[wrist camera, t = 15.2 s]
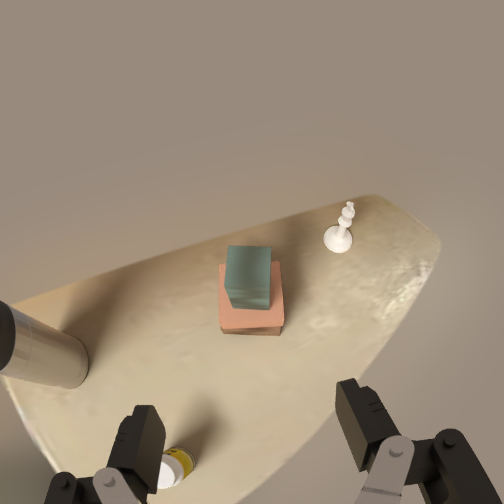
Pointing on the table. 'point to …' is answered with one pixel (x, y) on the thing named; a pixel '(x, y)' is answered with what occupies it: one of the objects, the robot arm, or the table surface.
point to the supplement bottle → (175, 467)
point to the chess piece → (340, 231)
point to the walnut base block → (254, 331)
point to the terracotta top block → (252, 318)
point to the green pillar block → (248, 277)
